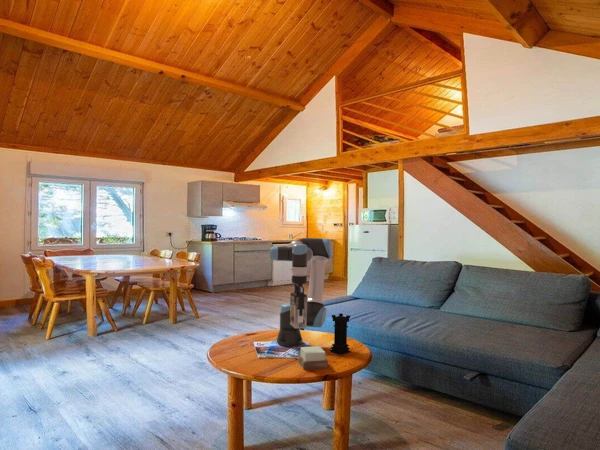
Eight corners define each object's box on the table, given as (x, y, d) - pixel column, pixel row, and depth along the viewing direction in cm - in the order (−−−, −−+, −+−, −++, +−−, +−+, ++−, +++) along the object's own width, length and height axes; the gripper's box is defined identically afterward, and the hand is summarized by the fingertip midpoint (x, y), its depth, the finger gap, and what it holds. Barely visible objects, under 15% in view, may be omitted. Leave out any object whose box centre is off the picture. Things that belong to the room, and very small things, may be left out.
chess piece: (340, 355, 219) (340, 317, 219) (329, 351, 225) (330, 315, 225) (350, 352, 224) (351, 315, 224) (340, 348, 230) (340, 313, 230)
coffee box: (289, 324, 208) (290, 292, 208) (301, 323, 210) (302, 292, 210) (294, 328, 199) (295, 295, 199) (307, 328, 201) (307, 295, 201)
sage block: (300, 355, 207) (300, 347, 207) (319, 353, 209) (319, 346, 209) (305, 361, 197) (305, 353, 197) (325, 360, 200) (325, 352, 200)
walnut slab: (298, 362, 208) (298, 354, 208) (320, 360, 211) (320, 353, 211) (303, 370, 196) (303, 362, 196) (327, 369, 199) (327, 360, 199)
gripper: (288, 272, 215) (287, 315, 215) (295, 278, 193) (294, 325, 193) (302, 272, 216) (301, 314, 216) (311, 278, 195) (310, 325, 195)
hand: (298, 319), depth 205 cm, fingers closed on coffee box, 9 cm apart
